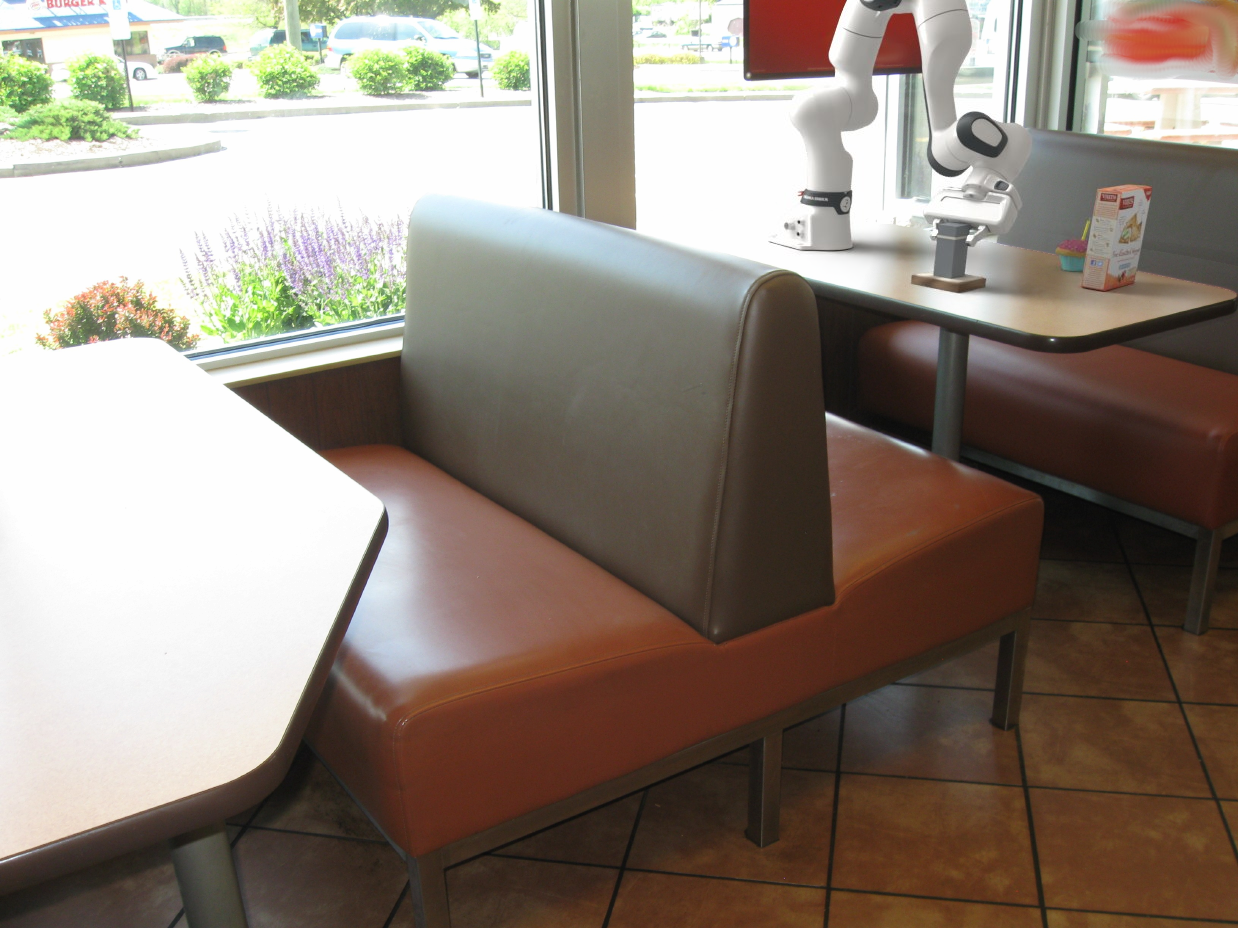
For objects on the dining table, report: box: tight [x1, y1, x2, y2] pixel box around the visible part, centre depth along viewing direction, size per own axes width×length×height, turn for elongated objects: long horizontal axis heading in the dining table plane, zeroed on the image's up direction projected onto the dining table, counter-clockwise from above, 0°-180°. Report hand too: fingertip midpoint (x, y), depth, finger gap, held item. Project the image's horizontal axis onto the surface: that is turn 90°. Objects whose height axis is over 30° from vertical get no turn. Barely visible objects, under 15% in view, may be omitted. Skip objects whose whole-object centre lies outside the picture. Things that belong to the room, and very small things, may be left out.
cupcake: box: [1055, 217, 1092, 272], centre depth 251 cm, size 9×8×12 cm
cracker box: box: [1080, 184, 1153, 292], centre depth 234 cm, size 14×6×21 cm, turn 131°
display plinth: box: [910, 270, 987, 294], centre depth 237 cm, size 12×10×2 cm
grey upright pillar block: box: [933, 222, 971, 279], centre depth 235 cm, size 5×5×11 cm
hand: (950, 242), depth 234 cm, fingers open, 8 cm apart
